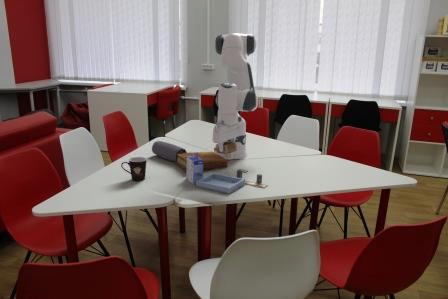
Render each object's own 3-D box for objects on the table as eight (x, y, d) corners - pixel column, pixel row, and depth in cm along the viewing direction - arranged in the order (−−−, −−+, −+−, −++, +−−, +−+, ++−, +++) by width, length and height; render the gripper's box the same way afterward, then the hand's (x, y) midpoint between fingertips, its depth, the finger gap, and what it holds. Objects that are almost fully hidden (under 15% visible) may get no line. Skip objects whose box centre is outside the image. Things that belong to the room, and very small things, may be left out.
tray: (196, 186, 180) (196, 181, 179) (213, 178, 192) (213, 172, 192) (229, 194, 171) (229, 188, 170) (244, 184, 183) (245, 179, 183)
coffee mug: (150, 177, 192) (149, 158, 190) (141, 182, 184) (140, 162, 182) (130, 174, 196) (129, 155, 193) (120, 179, 188) (119, 160, 186)
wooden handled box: (230, 181, 188) (230, 171, 187) (239, 176, 196) (239, 166, 195) (264, 188, 179) (265, 178, 178) (272, 182, 187) (272, 173, 186)
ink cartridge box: (203, 184, 185) (204, 155, 181) (193, 185, 182) (193, 156, 179) (196, 178, 193) (196, 150, 190) (186, 179, 191) (185, 151, 187)
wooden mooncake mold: (210, 151, 180) (209, 143, 180) (220, 148, 185) (219, 140, 184) (226, 154, 172) (225, 145, 171) (237, 150, 176) (236, 142, 175)
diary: (187, 172, 196) (187, 161, 195) (174, 163, 212) (175, 153, 211) (226, 169, 207) (227, 159, 205) (212, 160, 223) (212, 151, 221)
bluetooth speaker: (187, 163, 217) (188, 146, 215) (174, 166, 210) (175, 148, 208) (163, 155, 232) (164, 139, 230) (150, 157, 226) (151, 140, 223)
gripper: (221, 123, 162) (221, 154, 166) (243, 117, 179) (242, 145, 183) (209, 121, 165) (208, 152, 169) (232, 116, 182) (231, 144, 186)
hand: (226, 149), depth 176 cm, fingers closed on wooden mooncake mold, 8 cm apart
